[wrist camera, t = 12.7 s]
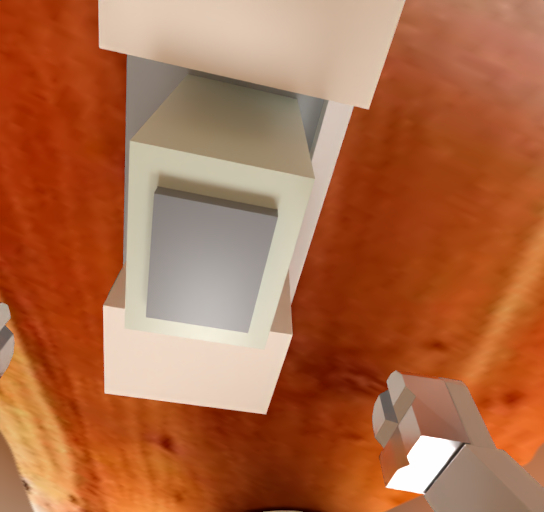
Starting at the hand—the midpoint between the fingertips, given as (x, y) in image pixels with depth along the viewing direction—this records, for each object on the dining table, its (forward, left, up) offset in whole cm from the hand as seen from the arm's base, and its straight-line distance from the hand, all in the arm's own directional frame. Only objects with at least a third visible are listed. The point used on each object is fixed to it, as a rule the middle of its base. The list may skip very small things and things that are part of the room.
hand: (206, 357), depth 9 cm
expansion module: (0, 0, -11) cm, 11 cm away
